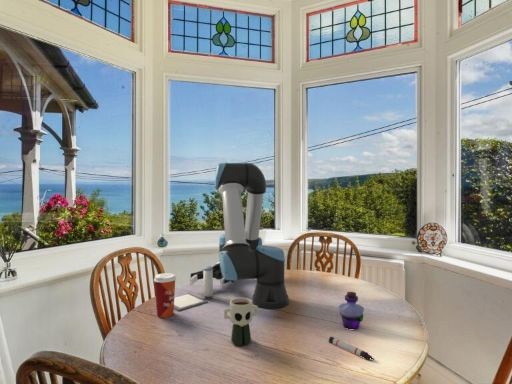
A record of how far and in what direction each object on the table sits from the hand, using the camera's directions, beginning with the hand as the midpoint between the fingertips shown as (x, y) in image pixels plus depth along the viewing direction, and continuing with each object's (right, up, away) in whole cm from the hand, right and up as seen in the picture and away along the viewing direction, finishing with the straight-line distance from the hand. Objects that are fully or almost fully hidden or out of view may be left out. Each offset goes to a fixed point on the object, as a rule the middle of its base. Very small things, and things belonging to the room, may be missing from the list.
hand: (205, 282), depth 144 cm
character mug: (+17, -9, -37) cm, 42 cm away
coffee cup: (-13, -8, -15) cm, 22 cm away
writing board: (-9, -7, -2) cm, 12 cm away
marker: (+50, -9, -43) cm, 66 cm away
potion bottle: (+54, -8, -26) cm, 61 cm away
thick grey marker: (+1, -7, +3) cm, 8 cm away
